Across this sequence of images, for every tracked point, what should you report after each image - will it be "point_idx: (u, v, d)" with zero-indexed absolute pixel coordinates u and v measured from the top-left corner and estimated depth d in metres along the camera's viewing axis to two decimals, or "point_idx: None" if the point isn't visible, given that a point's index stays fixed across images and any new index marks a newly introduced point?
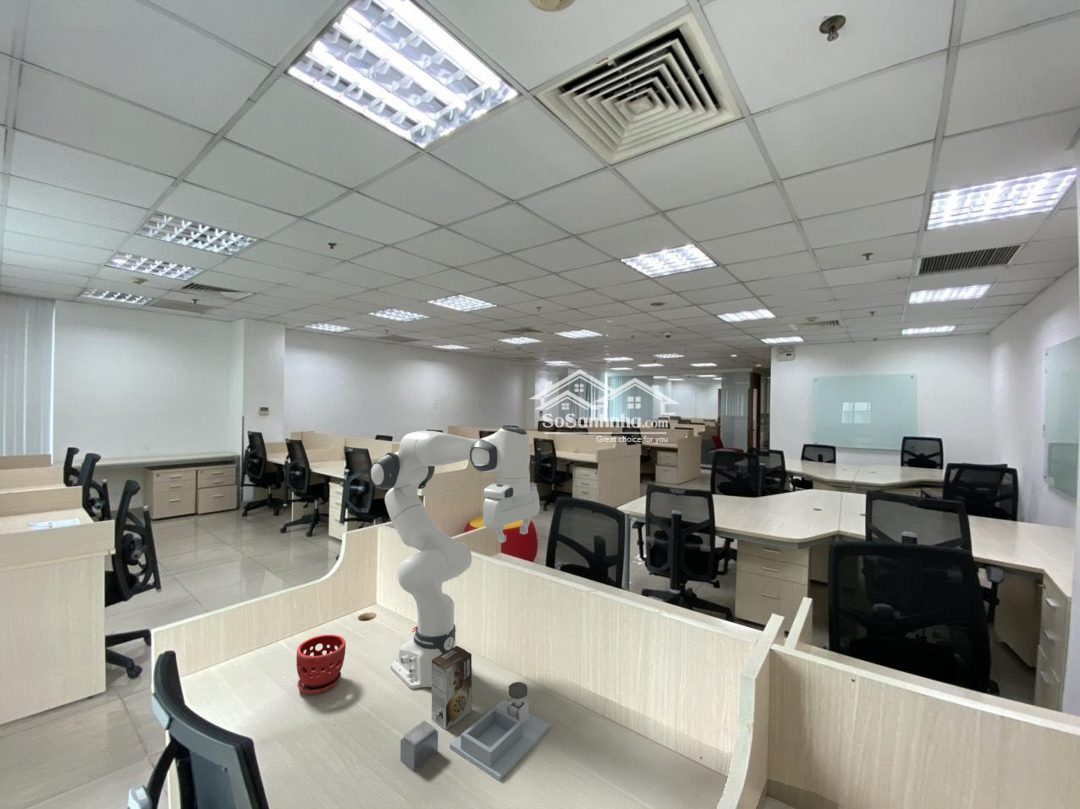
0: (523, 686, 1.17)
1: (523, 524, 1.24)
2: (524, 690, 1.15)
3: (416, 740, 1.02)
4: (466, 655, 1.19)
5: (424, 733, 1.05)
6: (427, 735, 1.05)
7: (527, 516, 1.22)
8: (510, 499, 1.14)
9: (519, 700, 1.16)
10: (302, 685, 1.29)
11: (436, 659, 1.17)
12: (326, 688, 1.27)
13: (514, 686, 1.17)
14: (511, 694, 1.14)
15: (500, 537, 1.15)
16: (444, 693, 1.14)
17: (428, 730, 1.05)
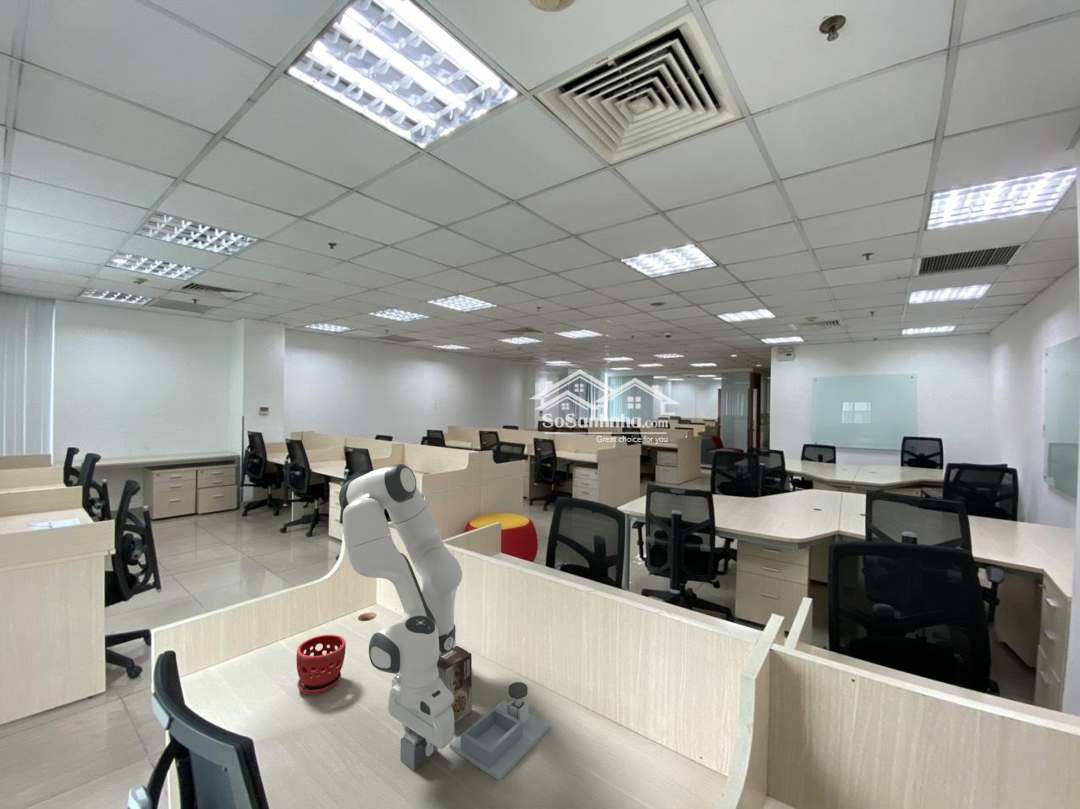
0: (523, 686, 1.17)
1: None
2: (524, 690, 1.15)
3: (416, 739, 1.02)
4: (465, 655, 1.19)
5: None
6: None
7: None
8: None
9: (519, 700, 1.16)
10: (302, 685, 1.29)
11: None
12: (326, 688, 1.27)
13: (514, 686, 1.17)
14: (511, 694, 1.14)
15: (431, 748, 1.03)
16: None
17: None
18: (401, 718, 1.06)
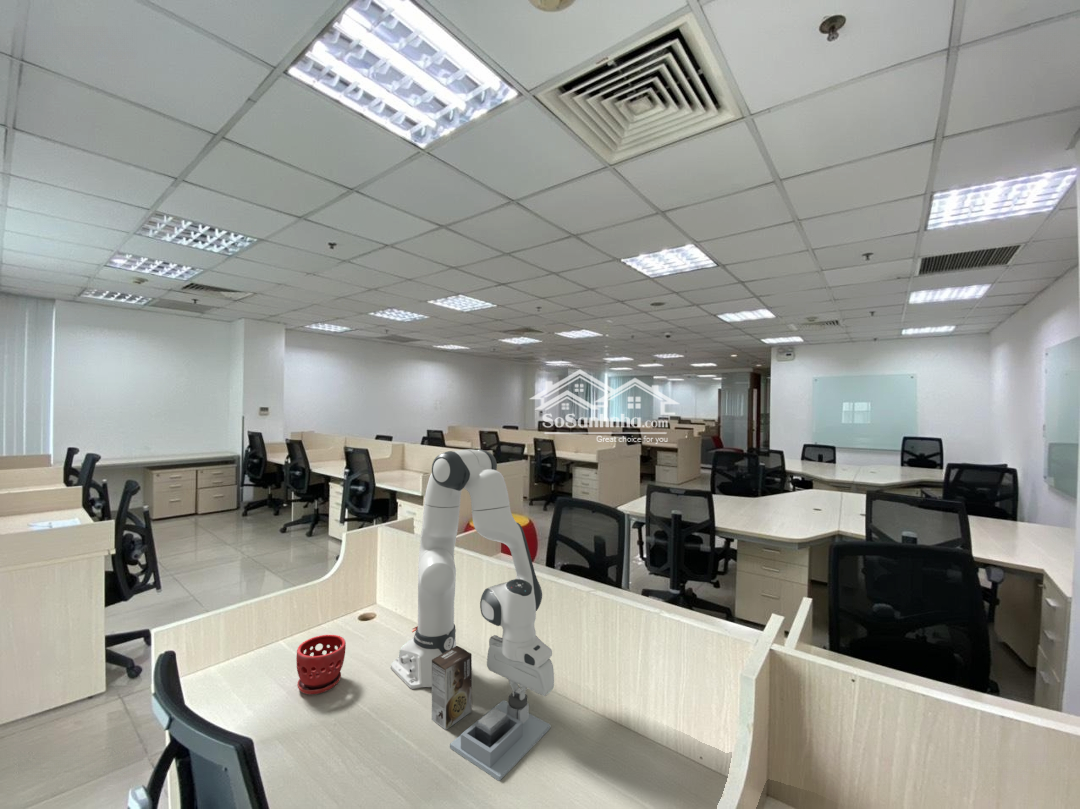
0: None
1: (514, 687, 1.17)
2: (524, 700, 1.15)
3: (491, 726, 1.06)
4: (465, 655, 1.19)
5: (497, 719, 1.08)
6: (501, 722, 1.08)
7: None
8: None
9: None
10: (302, 685, 1.29)
11: (436, 659, 1.17)
12: (326, 688, 1.27)
13: None
14: (511, 704, 1.14)
15: (523, 693, 1.16)
16: (444, 693, 1.14)
17: (501, 716, 1.09)
18: (501, 672, 1.18)
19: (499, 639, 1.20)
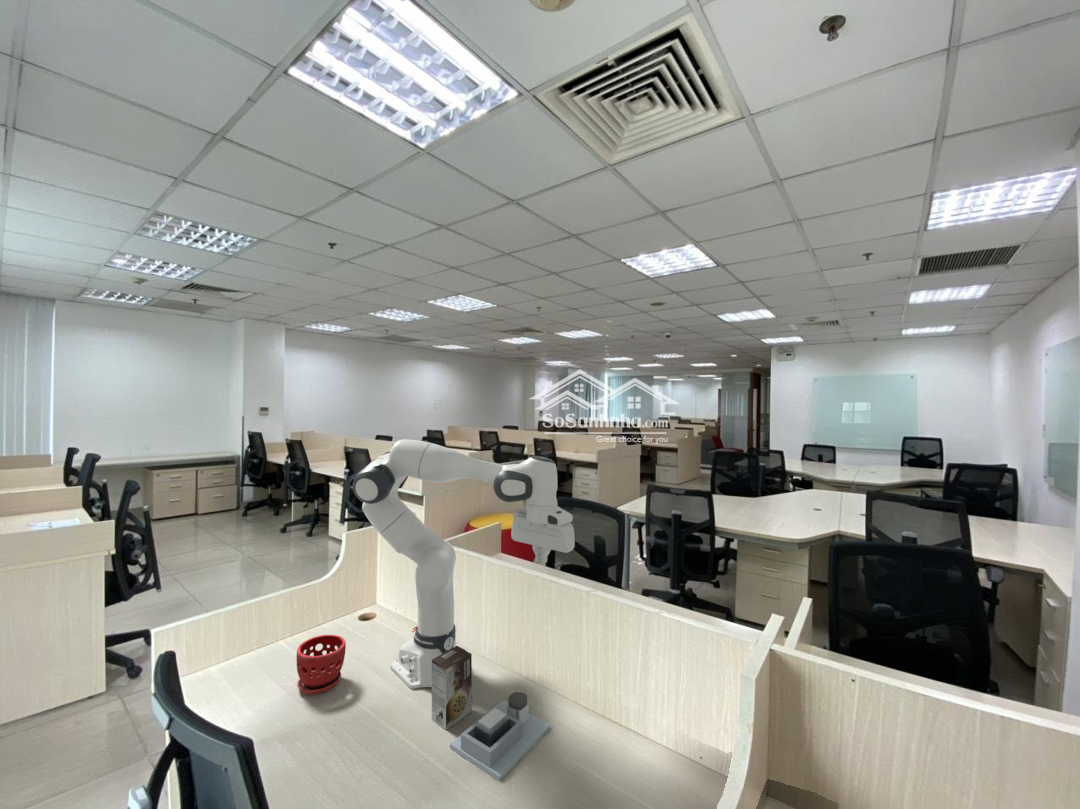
0: (523, 696, 1.17)
1: (537, 552, 1.27)
2: (524, 700, 1.15)
3: (491, 726, 1.06)
4: (465, 655, 1.19)
5: (497, 719, 1.08)
6: (501, 722, 1.08)
7: None
8: None
9: None
10: (302, 685, 1.29)
11: (436, 659, 1.17)
12: (326, 688, 1.27)
13: (514, 696, 1.17)
14: (511, 705, 1.14)
15: (546, 557, 1.26)
16: (444, 693, 1.14)
17: (501, 716, 1.09)
18: (525, 539, 1.27)
19: (523, 511, 1.30)
